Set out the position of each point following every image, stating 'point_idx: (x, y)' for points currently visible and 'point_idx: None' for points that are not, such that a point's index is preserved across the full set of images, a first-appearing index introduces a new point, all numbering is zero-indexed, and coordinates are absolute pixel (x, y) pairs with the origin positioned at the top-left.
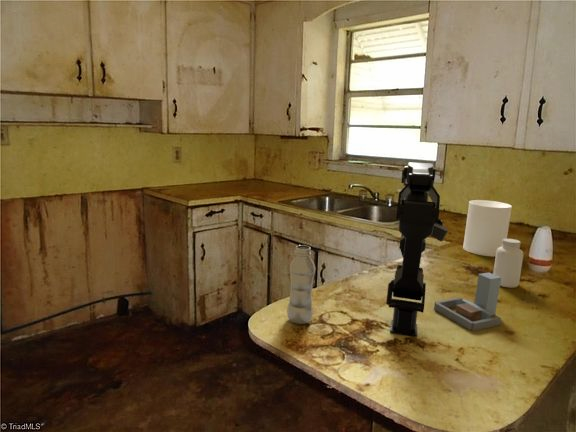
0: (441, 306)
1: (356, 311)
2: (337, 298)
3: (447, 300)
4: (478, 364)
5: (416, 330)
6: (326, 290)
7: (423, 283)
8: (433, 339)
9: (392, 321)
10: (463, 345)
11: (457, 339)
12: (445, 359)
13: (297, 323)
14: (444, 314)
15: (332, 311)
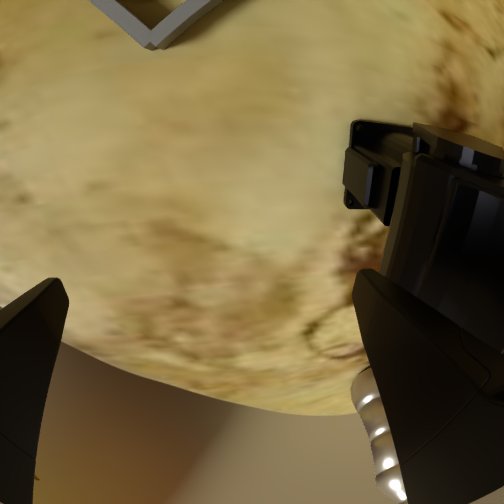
0: (189, 16)
1: (295, 304)
2: (224, 353)
3: (108, 4)
4: (492, 13)
5: (404, 128)
6: (185, 376)
7: (501, 173)
8: (425, 79)
9: (359, 204)
10: (429, 2)
11: (402, 4)
12: (497, 81)
13: None
14: (211, 8)
15: (312, 347)
